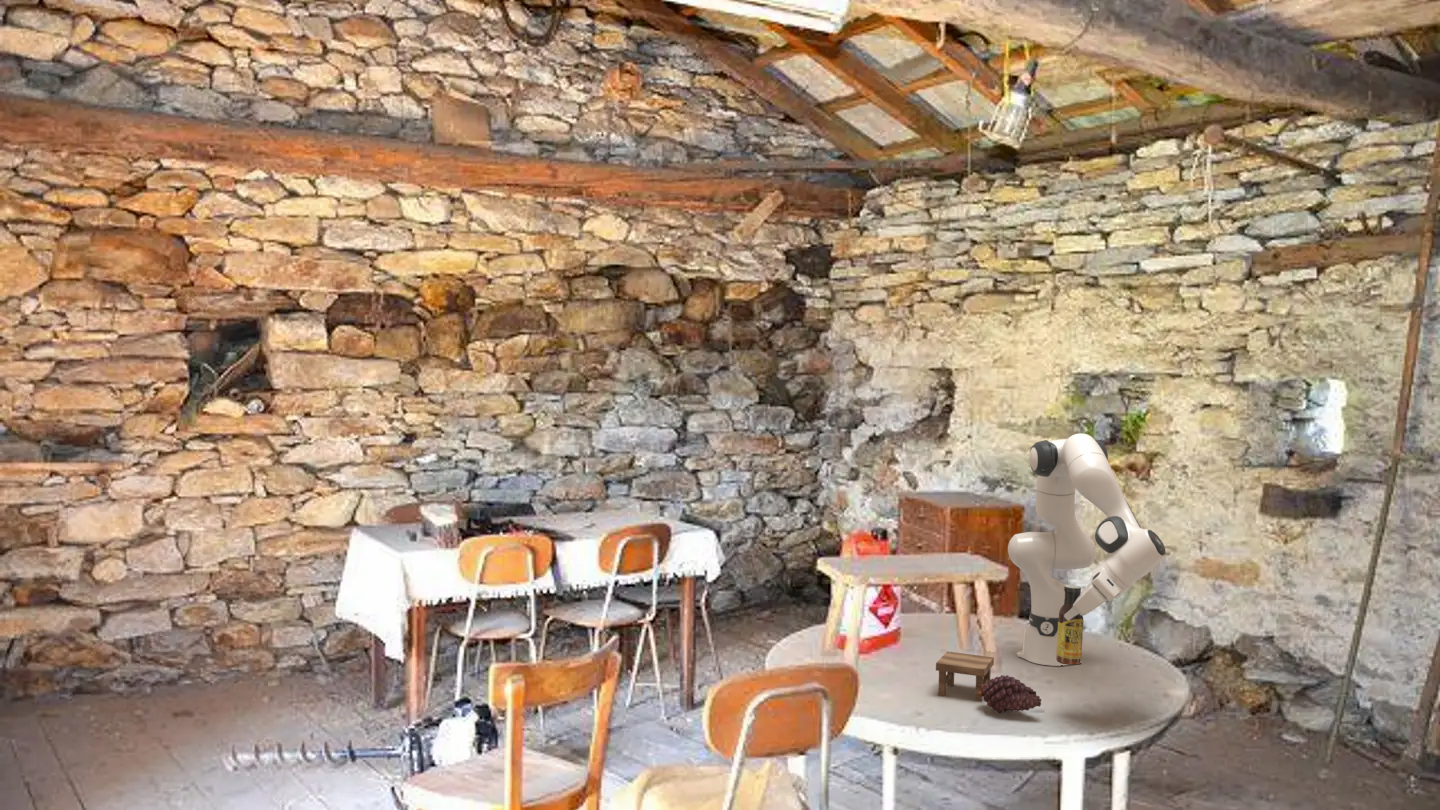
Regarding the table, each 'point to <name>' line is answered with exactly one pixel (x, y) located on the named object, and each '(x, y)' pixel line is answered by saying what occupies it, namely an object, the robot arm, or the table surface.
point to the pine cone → (1008, 695)
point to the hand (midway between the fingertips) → (1067, 614)
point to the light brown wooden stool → (963, 670)
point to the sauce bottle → (1069, 630)
